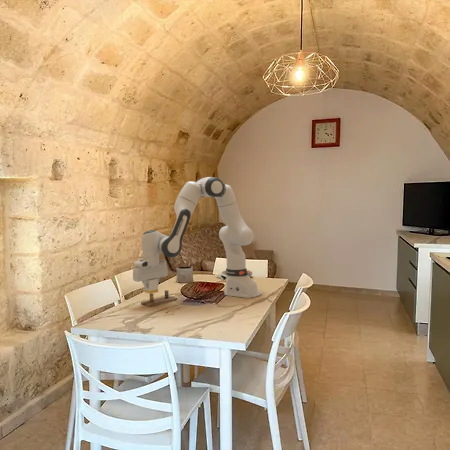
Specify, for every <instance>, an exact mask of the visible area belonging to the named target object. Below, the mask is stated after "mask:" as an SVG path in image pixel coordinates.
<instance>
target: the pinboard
mask: <svg viewBox="0 0 450 450" xmlns="http://www.w3.org/2000/svg"><path fill="white" fill-rule="evenodd" d="M154 297H155V296H154V293H152V294H149V299H148V300H142V301H140V304H141V305H142V306H146V307H149V308H151V307H155V306H159V305H163V304H166V303H167V304H168V303H170V302H175V301H177V300H178V297H174V296H172V295H169V290H164V296H160V297H156V298H154Z"/></svg>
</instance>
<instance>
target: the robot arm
mask: <svg viewBox="0 0 450 450" xmlns="http://www.w3.org/2000/svg"><path fill="white" fill-rule="evenodd" d="M201 197H204V198H214V200H215V201H216V204H217V210H218V212H219V214H220V215H219V216H220V218H221V220H222V221H223V223H225V226H222V227H221V228H220V229H219V232H218V237H219V239H220V241H221V242H222V244H223V247H224V250H225V257H226V268H225V271H226V275H227V279H226V278H225V279H226V280H225V286H224V287H225V288H224V291H223V293H224V296H231V297H238V298H245V299H250V298H255V297H259V296H261V295H262V294H263V291H259V288H258V284H257V282H256V281H255V280H254V279H253V278H252V277H251V278H250V276H249V275H248V271H250V269H249V270H248V269H247V267H246V265H247V264H246V263H247V261H246V259H247V258H246V257H247V256H246V254H245V252H244V250H243V248H242V247H243V246H248V245H250V244H252V243H253V241H254V237H255V235H254V231H253V230H252V229H251V228H250V227H249V226H248V225H247V223H246V222H245V220H244V218H243V217H242V214H241V212H240V210H239V209H240V208H239V206H238V202H237V199H236V196H235V193H234V190H233V188H232V187H231V185H230V184H225V183H224V182H223V180H222V179H220V178H218V177H216V176H215V177H213V176H206V177H201V178H199V179H196V181H194V180H193V181H191V180H190V181H186V182H185V184H184V186H182V188H181V190H180V191H179V193H178V195H177V197H176V199H175V203H174V206H173V210H174V213H175V218H176V220H175V223H174V226H173V227H172V230H171V233H170V235H166V234H163V233H161V232H159V231H158V230H157V229H152V230H150V229H149V230H147V231H145V232H143V233H142V235H141V251H142V252H141V253H142V254H141V258H140V259H138V260H136V261H134V262H133V266H134V267H133V269H132V280H133V281H134V282H135V283H137V282H141V283H142V285H143V288H144V290H145V289H147V288H148V285H147V284H146V282H147V280H150V279H155V278H156V279H158V284H159V283H160V281H161V278H164V277H167V276H168V275H169V271H168V264H167V260H166V259H160V254H163V255H164V256H165V257H167V258H176V257H178V256H179V255H180V253H181V251H182V249H183V248H182V246H183V238H184V236H185V234H186V232H187V231H186V230H187V227H188V225H189V223H190V220H191V218H192V215H193V214H194V211H195V208H196V207H197V205H198V202H199V200H200V199H201Z"/></svg>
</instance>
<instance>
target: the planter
mask: <svg viewBox="0 0 450 450" xmlns="http://www.w3.org/2000/svg"><path fill="white" fill-rule="evenodd" d="M193 268H194V267H193V266H190V265H180V266H177V267H176V282H177V283H179V284H189V282H190V283H192V282H193V281H194V270H193Z"/></svg>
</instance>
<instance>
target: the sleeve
mask: <svg viewBox="0 0 450 450" xmlns="http://www.w3.org/2000/svg"><path fill="white" fill-rule="evenodd" d="M146 284H147V285H148V288H147V289H144V293H146V294H149V295H150V294H155V293H159V283H158V279H156V278H155V279H150V280H147V282H146Z"/></svg>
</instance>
